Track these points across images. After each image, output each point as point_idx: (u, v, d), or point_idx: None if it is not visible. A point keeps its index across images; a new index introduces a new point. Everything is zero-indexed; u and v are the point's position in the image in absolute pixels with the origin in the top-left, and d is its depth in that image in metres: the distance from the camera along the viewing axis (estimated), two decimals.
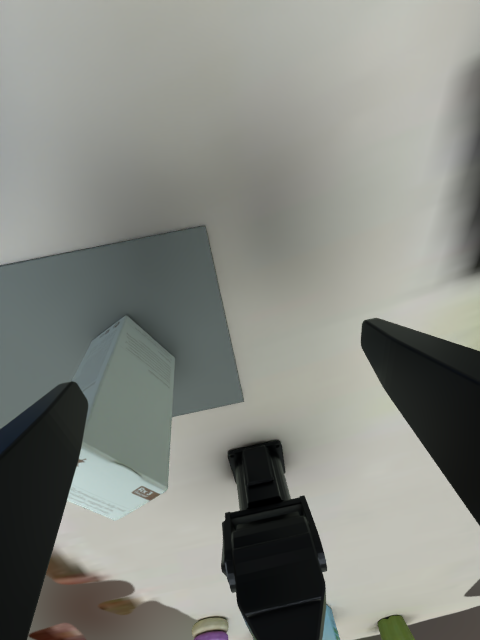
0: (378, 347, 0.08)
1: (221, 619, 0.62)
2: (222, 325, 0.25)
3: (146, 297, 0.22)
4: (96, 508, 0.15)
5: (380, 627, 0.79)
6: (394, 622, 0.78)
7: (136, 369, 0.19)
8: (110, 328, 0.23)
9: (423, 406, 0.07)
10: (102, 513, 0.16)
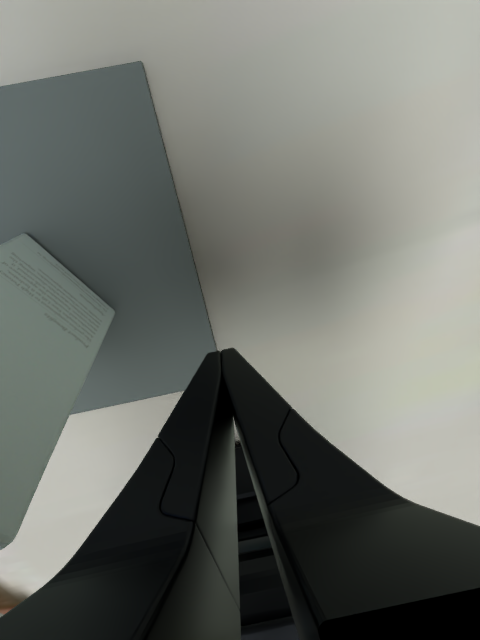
0: None
1: None
2: (185, 258, 0.16)
3: (54, 201, 0.14)
4: None
5: None
6: None
7: (11, 305, 0.11)
8: None
9: (242, 445, 0.07)
10: None
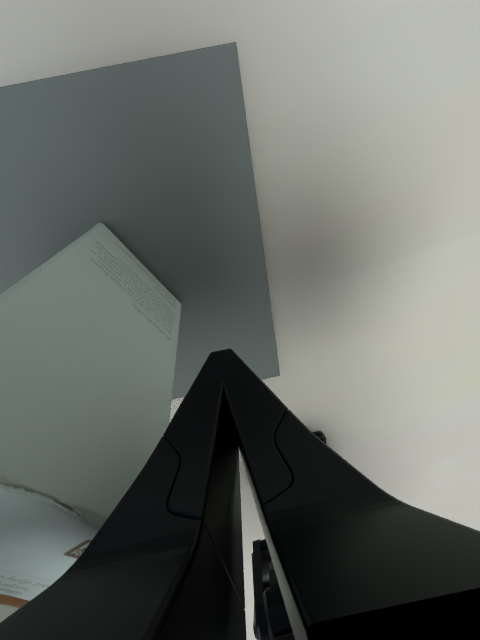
0: None
1: None
2: (255, 248, 0.16)
3: (134, 189, 0.14)
4: None
5: None
6: None
7: (107, 295, 0.10)
8: None
9: (239, 446, 0.07)
10: (5, 593, 0.07)
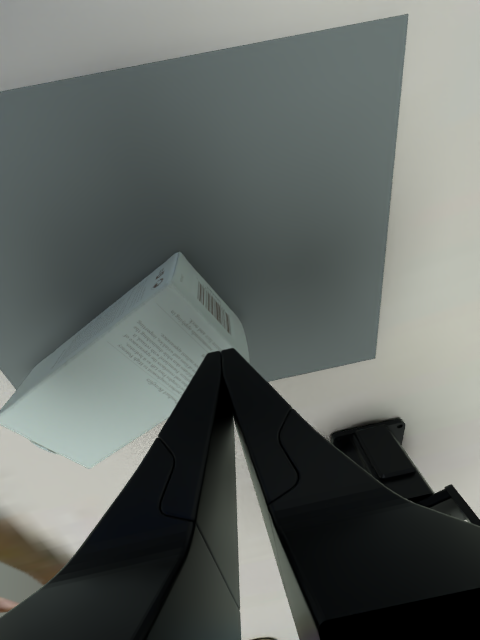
0: None
1: None
2: (381, 226, 0.16)
3: (280, 163, 0.14)
4: None
5: None
6: None
7: (118, 375, 0.13)
8: (162, 274, 0.13)
9: (242, 445, 0.07)
10: None
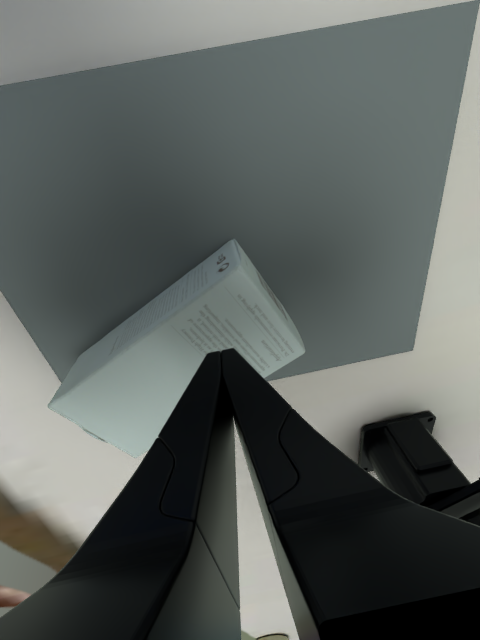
0: None
1: (283, 637, 0.53)
2: (432, 215, 0.16)
3: (340, 151, 0.14)
4: None
5: None
6: None
7: (178, 361, 0.13)
8: (225, 259, 0.13)
9: (242, 445, 0.07)
10: None
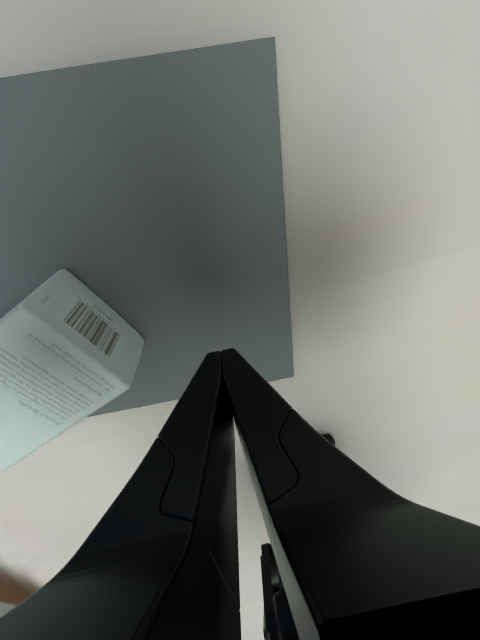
0: None
1: None
2: (279, 247, 0.16)
3: (161, 183, 0.13)
4: None
5: None
6: None
7: None
8: (29, 294, 0.12)
9: (242, 445, 0.07)
10: None
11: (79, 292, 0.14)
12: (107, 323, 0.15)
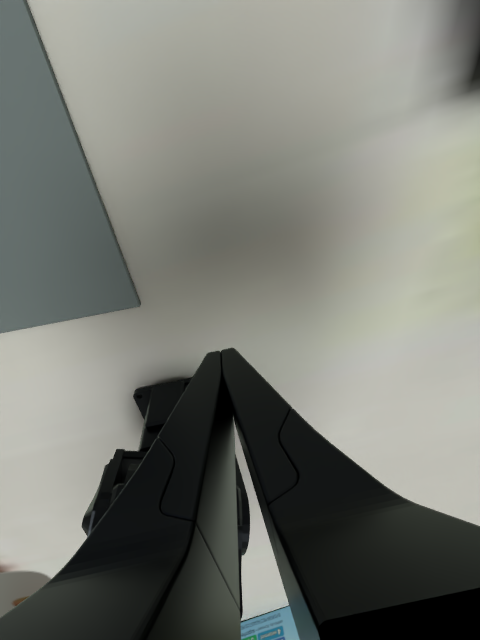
0: None
1: None
2: (74, 156, 0.16)
3: None
4: None
5: None
6: None
7: None
8: None
9: (242, 445, 0.07)
10: None
11: None
12: None
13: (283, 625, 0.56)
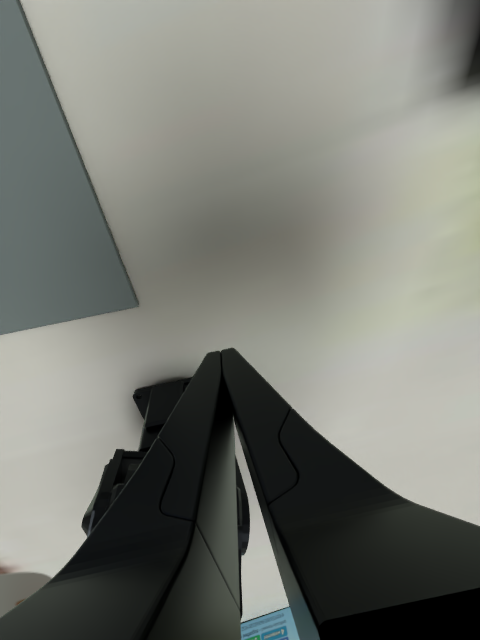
0: None
1: None
2: (70, 157, 0.16)
3: None
4: None
5: None
6: None
7: None
8: None
9: (242, 445, 0.07)
10: None
11: None
12: None
13: (286, 625, 0.56)
